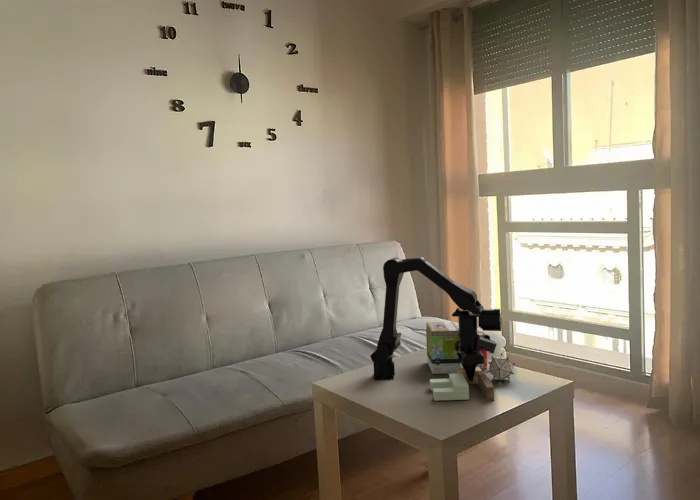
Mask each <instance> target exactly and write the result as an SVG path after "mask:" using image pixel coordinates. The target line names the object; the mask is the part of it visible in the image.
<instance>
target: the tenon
mask: <svg viewBox="0 0 700 500" xmlns="http://www.w3.org/2000/svg"><path fill="white" fill-rule="evenodd" d="M479 372H483V369H482V370H481V369H480V368H479V367H476V369H475V373H474V377H473V381H469V379H468V377H467V374H466V372H465V370H464V368H463V367H461V368H457V373H462V374H463V376H464V378H465V380H466V382H467V383H468V385H474V384H475V385H476V384H477V385H478V373H479Z"/></svg>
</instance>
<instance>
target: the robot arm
mask: <svg viewBox="0 0 700 500" xmlns="http://www.w3.org/2000/svg"><path fill="white" fill-rule="evenodd" d="M382 270H383V279H384V283H385V295H384V296H385V297H384V307H383V309H384V311H383V322H382V323H383V324H382V329H381V332H380V334H379V337H378V341H377V345H376V349H375V350H374V351H373V352H372V354H370V356H369V357H370V359H371V361H372V364H373V380H374V381H375V380H394V379H395V378H394V377H395V375H396V374H395V368H396V367H395V362H394V361H393V355H394V353H395V352H396V351H397V350H398V348H399V347H400V346H401V345H402V343H401V336H402V332H398V331H397V317H398V307H399V306H398V305H399V293H400V286H401V283H402V280H403V276H404V274H405V273H410V272H415V271H417V272H418V273H420V274H422V276H424V277H425V278H427V279H428V280H430V281H431V282H432V283H434V284H435V285H436V286H437V287H439V288H440V289H441V290H442V291H444V293H446V294H447V295H448V296H449V297H450V299H451V301H453V303H454V304H455V305H456V306H457V307H456V309H455V311H453V313H452V314H451V317H457V318H458V321H457V322H458V328H459V332H458V336H459V341H457V342H456V343H455V350H456V351H458V349H459V351H460V353H457V355H458V357H459V360H460V362H461V368H464V370H465V372H466V374H467V377H468V379H469V381H473V377H474V373H475V369H476V366H477V365H478V364H484V357H483V355H482V354H481V353H480V352H475V351H480V349H482V350H485V351H487V353H488V352H489V353H490V354H495V350H496V347H497V342H496V341H495V340H493V339H491V336H490V335H489V334H486V333H485V334H484V335H483V336H482V337H480V335H479V334H478V333H477V331H478V328H480V329H482V332H484V331H487V332H502V329H503V318H502V314H501V309H500V308H492V309H491V308H484V306H483V305H482V304H481V303H480V301H479V300H478V295H477V293H476V292H475V291H474V290H473V289H471V288H469V287H467V286H466V285H465V286H464V285H463V284H461V283H457V282H455V281H454V280H452V279H451V278H450V277H449V276H447V274H445V273H443V272H442V271H441V270H440V269H438V268H437V267H435V266H434V265H433V264H432V263H430V262H429V261H428V260H427V259H426V258H425V257H423V256H419V257H415V258H414V257H411V258H401V257H396V256H395V257H392V258H389V259H388V260H386V261H385V262H384V263H383V267H382Z"/></svg>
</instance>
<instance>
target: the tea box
mask: <svg viewBox="0 0 700 500" xmlns="http://www.w3.org/2000/svg"><path fill="white" fill-rule="evenodd" d="M425 327H426V329H425V330H426V331H425V332H426V333H425V334H426V362H427V364H428V367H429V369H430V372H431V373H432V375H434V374H435V375H439V374H440V375H442V374H448V375H449V374H455V373H457V368H462V364H461V362H460V360H459V357H458V355H457V353H460V351H459V349H458V351H456V350H455V343H456V342H457V341H459V336H458V332H459V326H457V324H456V323H455V322H454V321H430V322H428V321H427V322H426V323H425Z"/></svg>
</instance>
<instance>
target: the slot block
mask: <svg viewBox="0 0 700 500" xmlns="http://www.w3.org/2000/svg"><path fill="white" fill-rule="evenodd" d="M429 388H430V389H429V390H430V391H432V397H433V400H434V401H435V402H436V401H457V400H458V401H459V400H460V401H461V400H463V401H464V400H465V401H466V400H470V384H468V383H467V382H466V380H465V378H464V376H463V374H462V373H448V378H430V379H429Z"/></svg>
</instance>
